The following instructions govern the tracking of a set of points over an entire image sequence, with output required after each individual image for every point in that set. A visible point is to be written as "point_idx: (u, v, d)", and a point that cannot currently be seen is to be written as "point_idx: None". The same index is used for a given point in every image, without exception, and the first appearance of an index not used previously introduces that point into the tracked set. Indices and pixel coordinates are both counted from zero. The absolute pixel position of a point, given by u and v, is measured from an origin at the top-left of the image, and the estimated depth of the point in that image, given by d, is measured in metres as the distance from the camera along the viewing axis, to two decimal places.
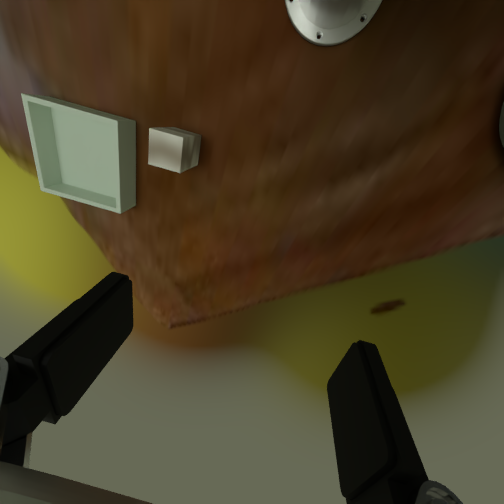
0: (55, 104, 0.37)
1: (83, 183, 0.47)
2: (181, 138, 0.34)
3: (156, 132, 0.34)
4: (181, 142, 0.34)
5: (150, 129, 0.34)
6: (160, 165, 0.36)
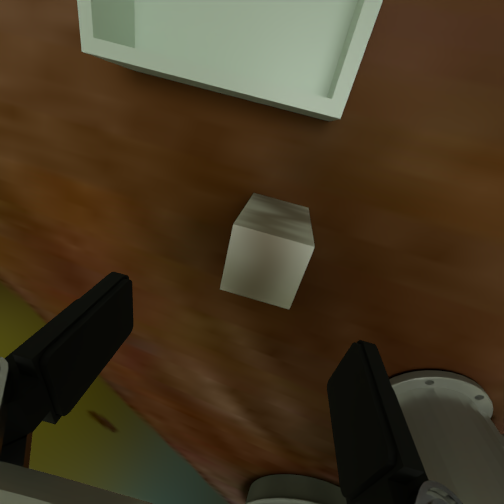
0: None
1: None
2: (287, 306, 0.16)
3: (303, 259, 0.15)
4: (280, 305, 0.16)
5: (311, 248, 0.14)
6: (231, 252, 0.15)
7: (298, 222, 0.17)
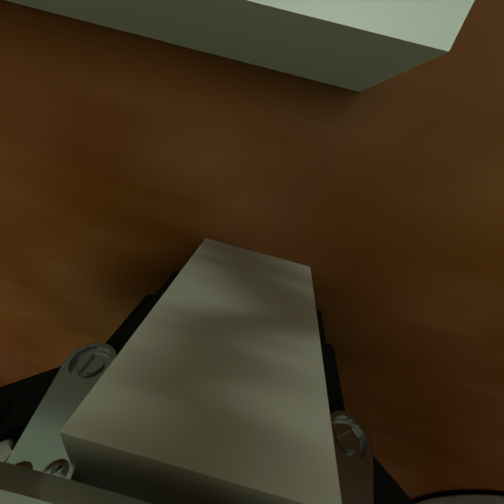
0: None
1: None
2: None
3: None
4: None
5: None
6: (87, 479, 0.05)
7: (290, 335, 0.07)
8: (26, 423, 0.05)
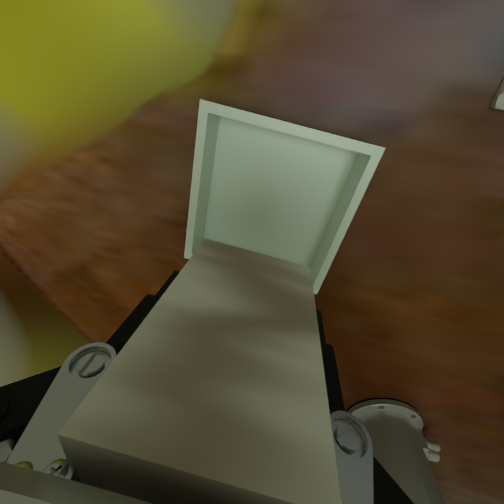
0: (353, 210, 0.22)
1: (224, 165, 0.26)
2: None
3: None
4: None
5: None
6: (86, 481, 0.05)
7: (290, 336, 0.07)
8: (26, 423, 0.05)
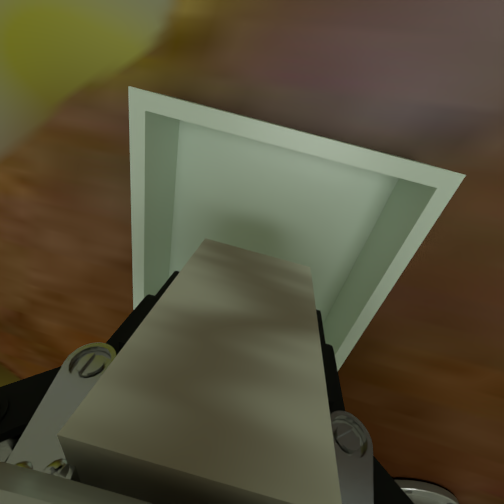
0: (396, 274, 0.13)
1: (190, 191, 0.17)
2: None
3: None
4: None
5: None
6: (85, 481, 0.05)
7: (290, 336, 0.07)
8: (26, 423, 0.05)
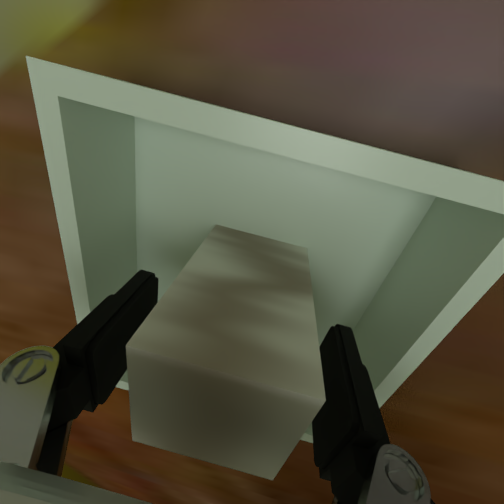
0: (440, 334, 0.09)
1: (156, 208, 0.13)
2: (269, 476, 0.08)
3: (298, 417, 0.06)
4: (255, 473, 0.08)
5: (317, 402, 0.06)
6: (138, 392, 0.07)
7: (289, 296, 0.09)
8: None
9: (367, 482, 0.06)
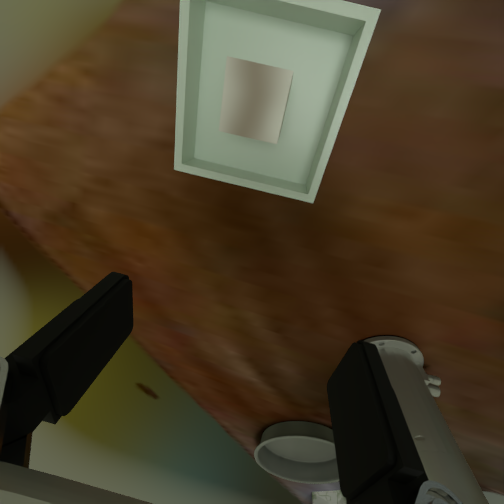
0: (348, 94, 0.21)
1: (212, 65, 0.24)
2: (275, 141, 0.20)
3: (285, 86, 0.18)
4: (269, 140, 0.20)
5: (291, 73, 0.18)
6: (227, 87, 0.18)
7: None
8: None
9: None
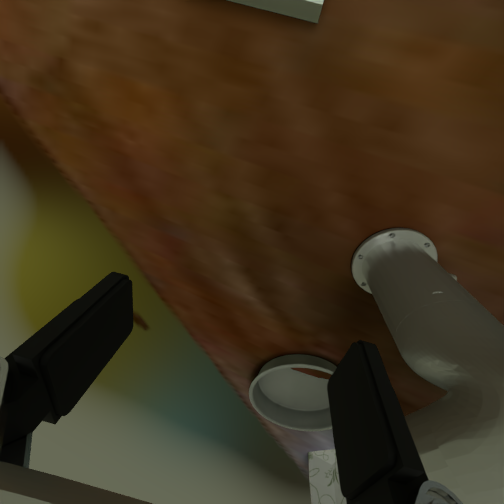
0: None
1: None
2: None
3: None
4: None
5: None
6: None
7: None
8: None
9: None
